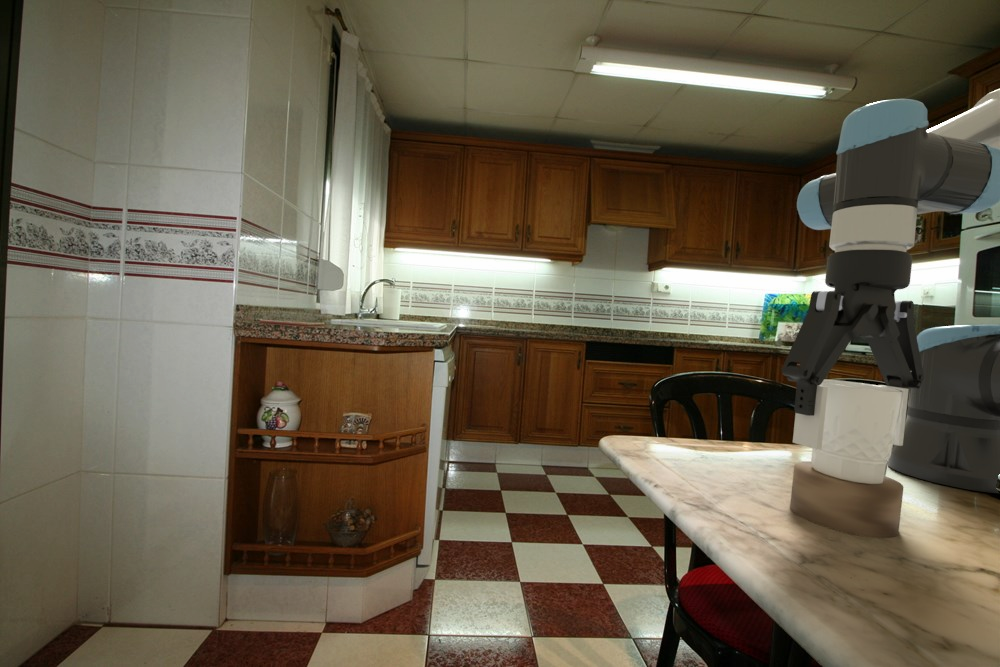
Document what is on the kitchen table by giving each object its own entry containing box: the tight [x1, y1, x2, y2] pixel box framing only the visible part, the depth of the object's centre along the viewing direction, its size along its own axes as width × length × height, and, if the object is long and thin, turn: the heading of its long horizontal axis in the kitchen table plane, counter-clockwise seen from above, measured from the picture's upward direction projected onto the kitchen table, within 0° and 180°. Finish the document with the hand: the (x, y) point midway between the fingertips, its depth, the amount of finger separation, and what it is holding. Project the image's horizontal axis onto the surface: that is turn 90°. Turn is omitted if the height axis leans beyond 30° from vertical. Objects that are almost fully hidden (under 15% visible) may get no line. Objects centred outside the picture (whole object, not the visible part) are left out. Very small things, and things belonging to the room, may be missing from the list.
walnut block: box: [789, 460, 904, 539], centre depth 56 cm, size 10×10×5 cm
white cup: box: [810, 378, 903, 484], centre depth 56 cm, size 8×8×10 cm
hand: (849, 444), depth 56 cm, fingers open, 13 cm apart
